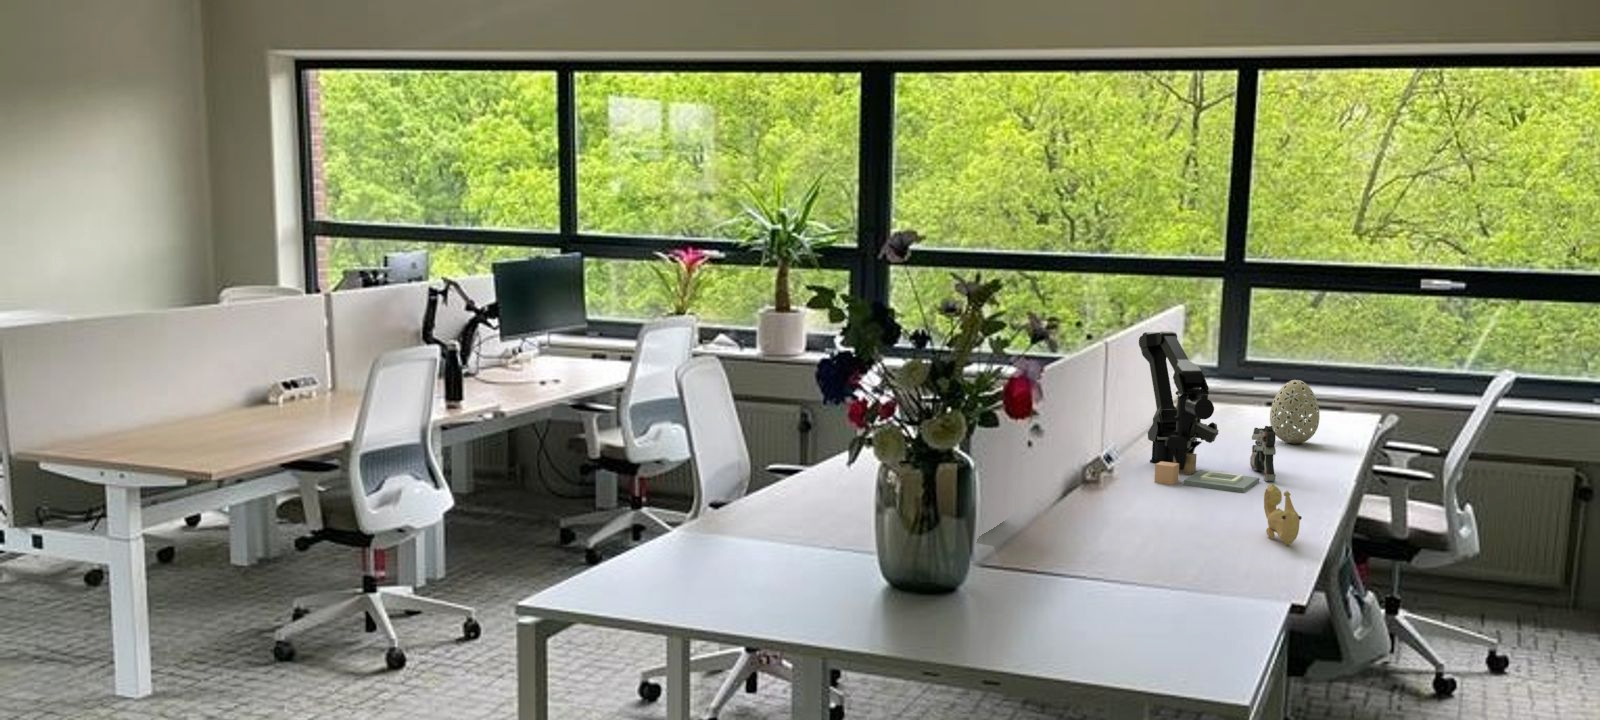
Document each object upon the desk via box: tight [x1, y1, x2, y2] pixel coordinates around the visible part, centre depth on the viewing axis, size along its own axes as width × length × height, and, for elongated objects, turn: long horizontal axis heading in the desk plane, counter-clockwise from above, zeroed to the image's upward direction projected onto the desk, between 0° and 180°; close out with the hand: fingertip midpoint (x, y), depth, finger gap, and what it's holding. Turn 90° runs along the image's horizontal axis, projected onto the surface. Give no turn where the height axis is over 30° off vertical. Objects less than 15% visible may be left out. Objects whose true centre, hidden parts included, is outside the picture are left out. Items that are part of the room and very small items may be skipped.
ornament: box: [1269, 379, 1320, 445], centre depth 447 cm, size 15×15×20 cm
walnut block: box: [1173, 453, 1198, 475], centre depth 402 cm, size 5×5×5 cm
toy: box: [1263, 483, 1302, 546], centre depth 328 cm, size 5×12×20 cm
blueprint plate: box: [1183, 469, 1260, 493], centre depth 388 cm, size 16×16×2 cm
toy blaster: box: [1249, 425, 1277, 482], centre depth 400 cm, size 4×21×15 cm, turn 174°
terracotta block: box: [1154, 461, 1180, 486], centre depth 389 cm, size 5×5×5 cm
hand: (1184, 468), depth 402 cm, fingers closed on walnut block, 5 cm apart
